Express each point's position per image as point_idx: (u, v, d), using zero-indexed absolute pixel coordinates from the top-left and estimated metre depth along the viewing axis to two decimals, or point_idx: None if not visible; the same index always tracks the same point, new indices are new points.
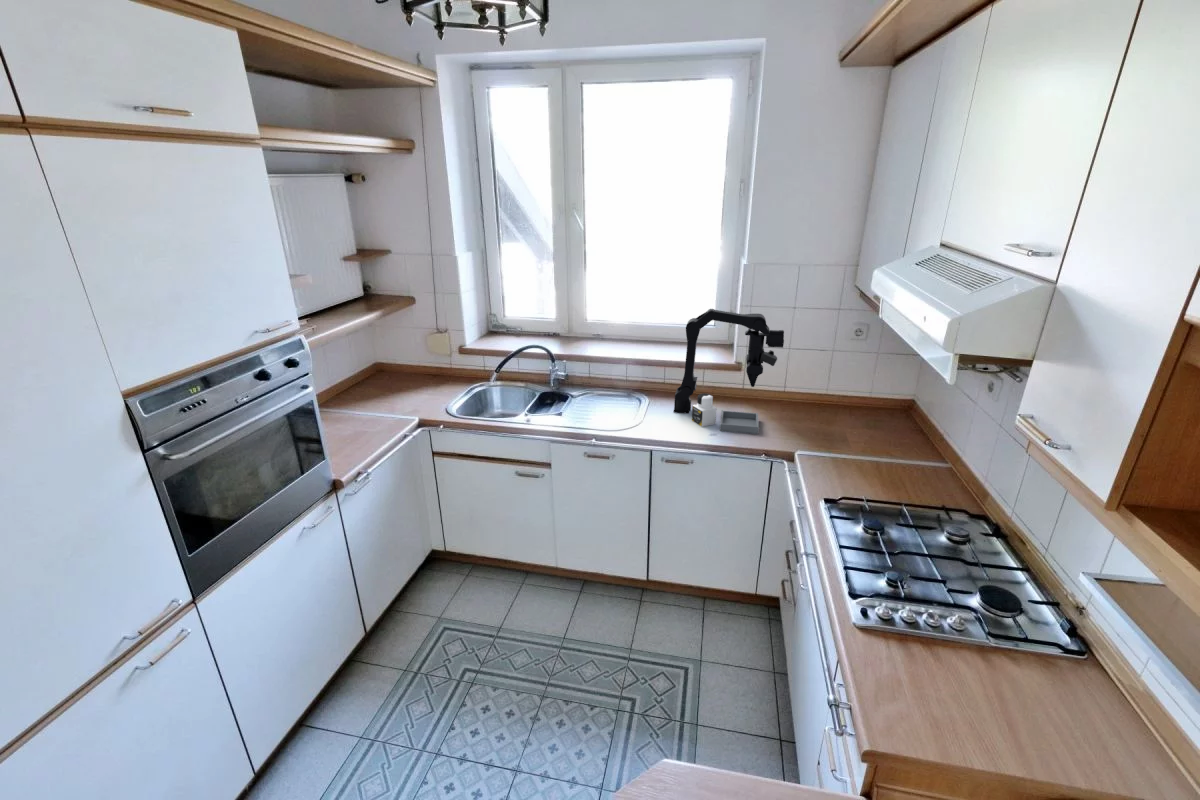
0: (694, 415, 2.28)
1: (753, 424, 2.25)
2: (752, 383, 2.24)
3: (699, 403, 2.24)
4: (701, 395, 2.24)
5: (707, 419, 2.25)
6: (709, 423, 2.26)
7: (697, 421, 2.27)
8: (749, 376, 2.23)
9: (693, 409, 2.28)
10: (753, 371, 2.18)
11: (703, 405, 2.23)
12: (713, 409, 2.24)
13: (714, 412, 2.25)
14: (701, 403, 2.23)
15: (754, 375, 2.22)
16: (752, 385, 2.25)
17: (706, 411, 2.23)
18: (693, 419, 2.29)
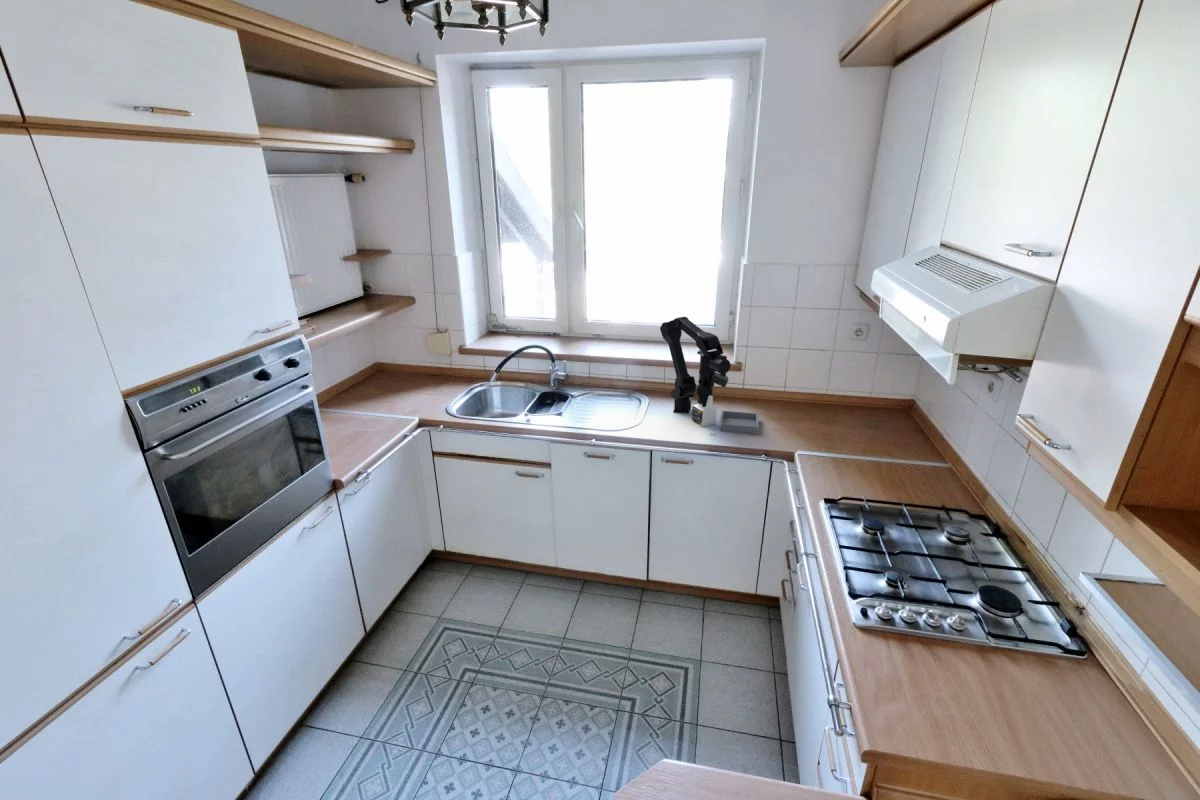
0: (694, 415, 2.28)
1: (753, 424, 2.25)
2: (704, 403, 2.22)
3: (699, 403, 2.24)
4: None
5: (707, 419, 2.25)
6: (709, 423, 2.26)
7: (697, 421, 2.27)
8: (700, 396, 2.20)
9: (693, 409, 2.28)
10: (703, 393, 2.15)
11: None
12: (713, 409, 2.24)
13: (714, 412, 2.25)
14: (701, 403, 2.23)
15: (705, 395, 2.20)
16: (703, 405, 2.23)
17: (706, 411, 2.23)
18: (693, 419, 2.29)
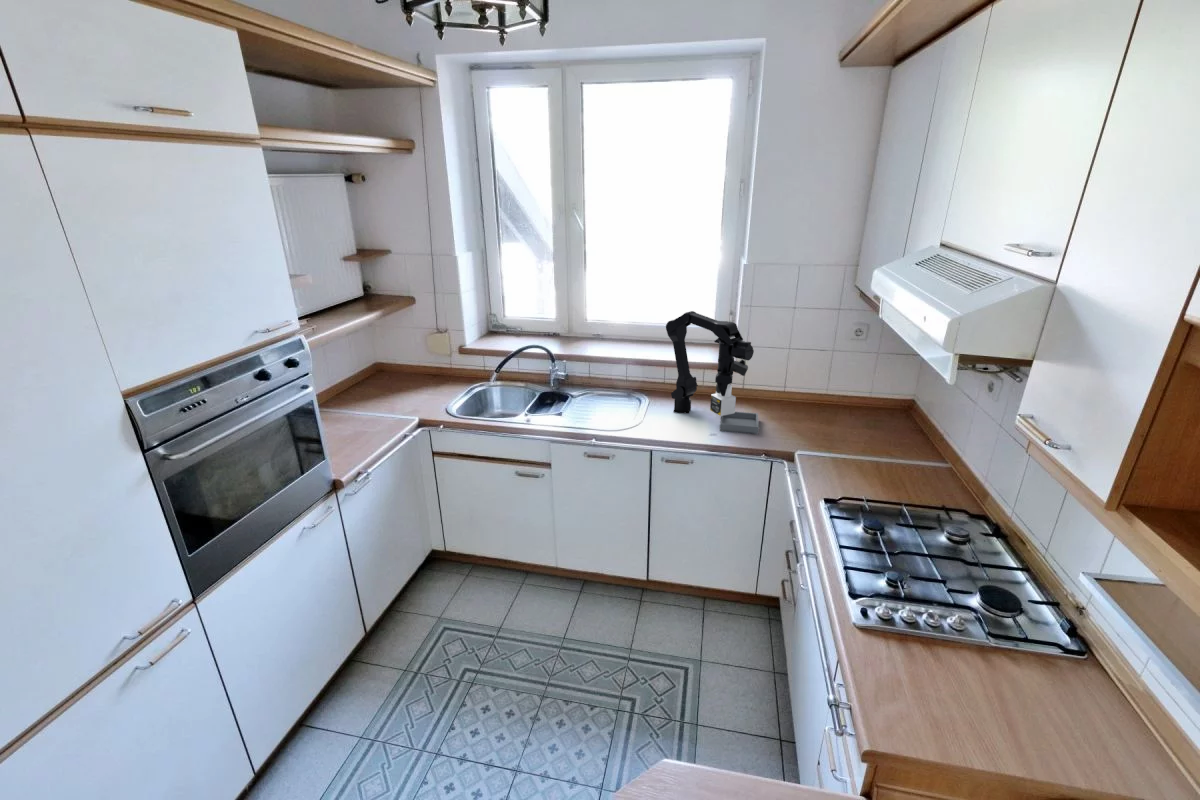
0: (713, 404, 2.24)
1: (753, 424, 2.25)
2: (723, 392, 2.18)
3: (718, 392, 2.21)
4: None
5: (726, 408, 2.21)
6: (728, 412, 2.22)
7: (715, 410, 2.23)
8: (719, 385, 2.17)
9: (712, 398, 2.24)
10: (722, 381, 2.11)
11: None
12: (732, 398, 2.21)
13: (733, 401, 2.21)
14: (720, 392, 2.20)
15: (724, 384, 2.17)
16: (722, 394, 2.19)
17: (725, 400, 2.19)
18: (712, 409, 2.25)
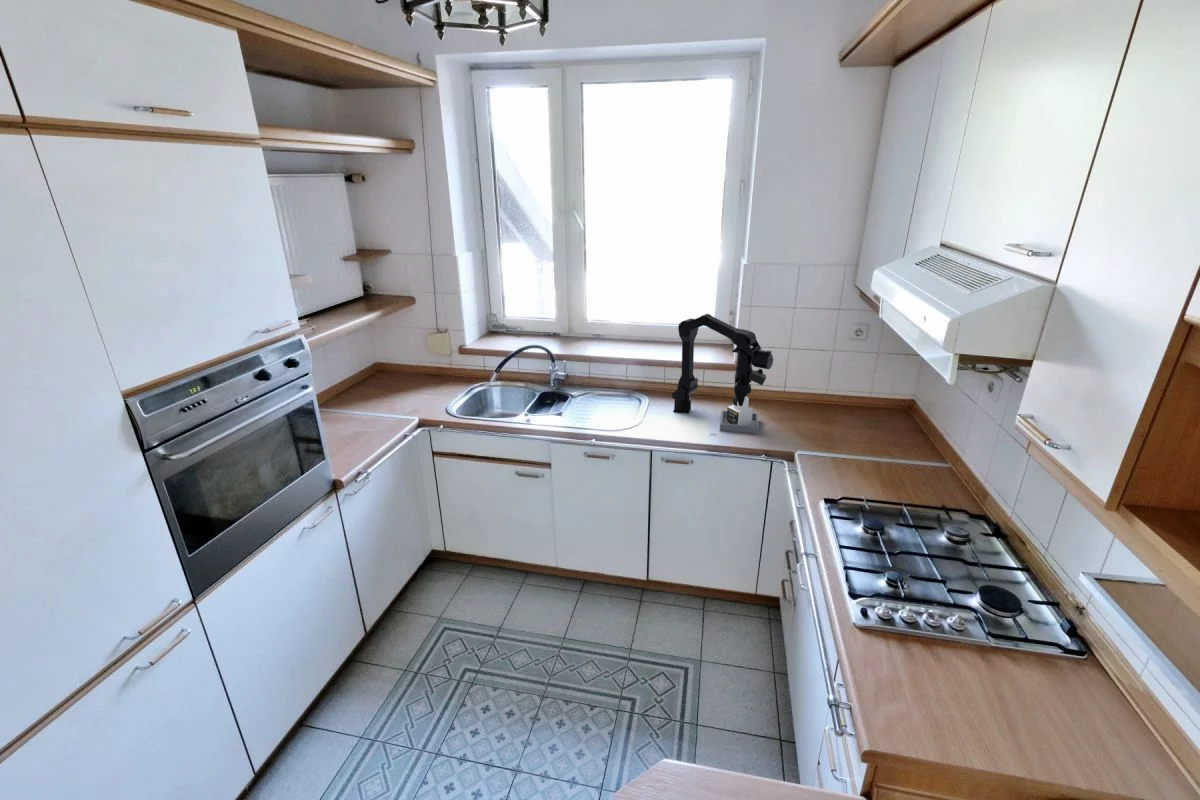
0: (729, 416, 2.24)
1: (753, 424, 2.25)
2: (741, 402, 2.17)
3: (735, 404, 2.21)
4: None
5: (743, 421, 2.21)
6: None
7: (732, 422, 2.23)
8: (737, 395, 2.16)
9: (728, 410, 2.24)
10: (741, 391, 2.11)
11: (739, 406, 2.20)
12: (749, 410, 2.21)
13: (750, 413, 2.22)
14: (737, 404, 2.20)
15: (742, 394, 2.15)
16: (740, 404, 2.18)
17: (742, 412, 2.20)
18: (728, 421, 2.25)
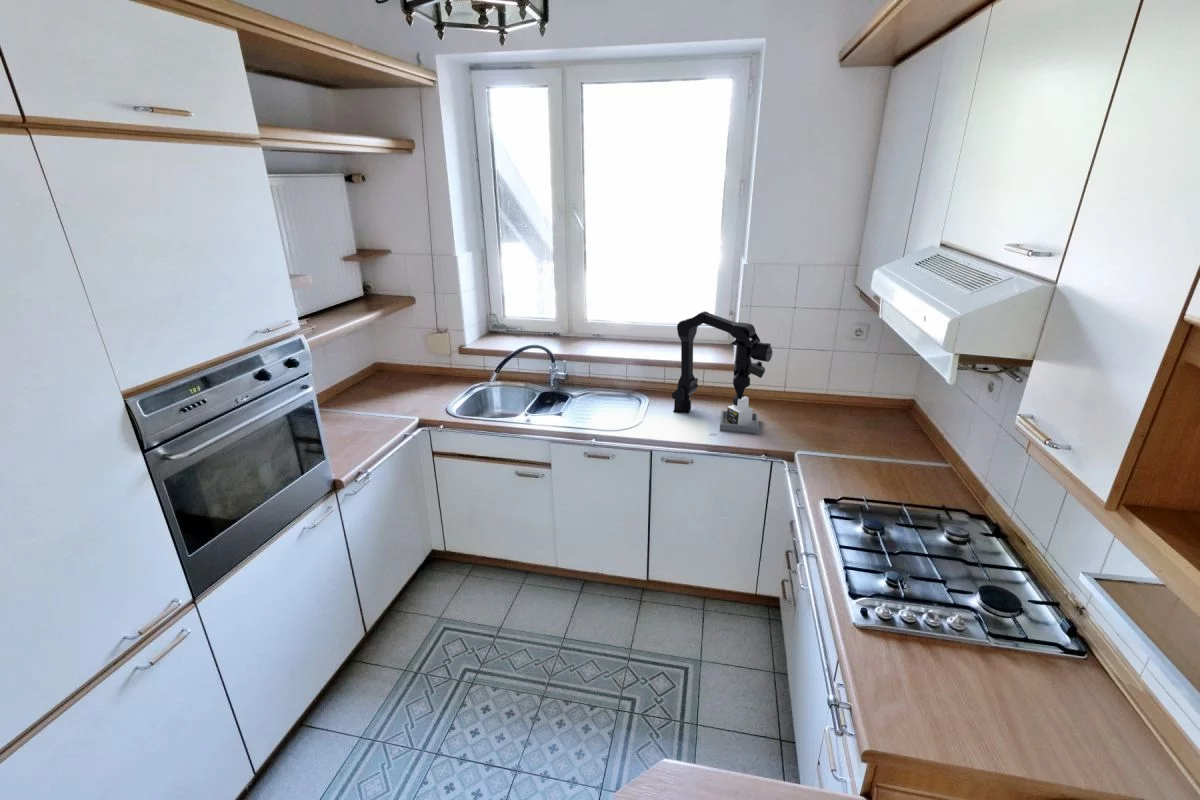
0: (729, 416, 2.24)
1: (753, 424, 2.25)
2: (740, 395, 2.16)
3: (735, 404, 2.21)
4: None
5: (743, 421, 2.21)
6: None
7: (732, 422, 2.23)
8: (736, 388, 2.14)
9: (728, 410, 2.24)
10: (740, 383, 2.10)
11: (739, 406, 2.20)
12: (749, 410, 2.21)
13: (750, 413, 2.22)
14: (737, 404, 2.20)
15: (741, 387, 2.14)
16: (739, 397, 2.17)
17: (742, 412, 2.20)
18: (728, 421, 2.26)
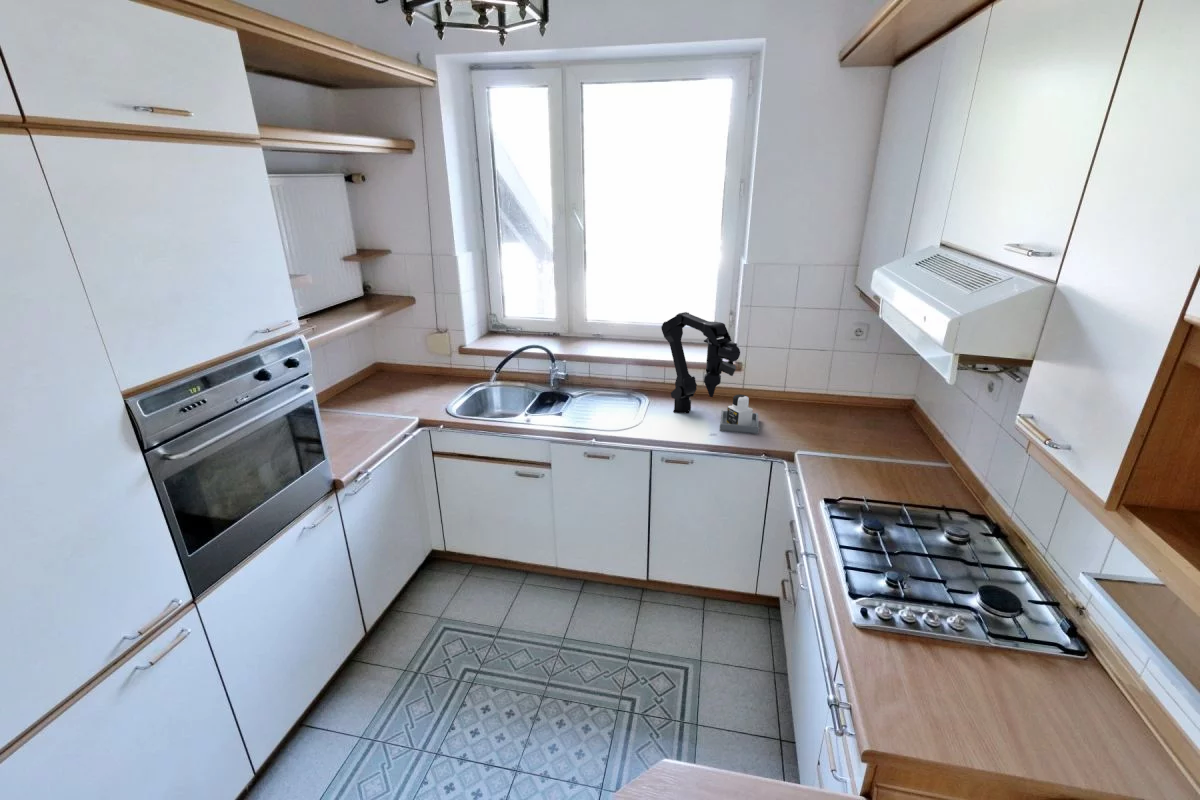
0: (729, 416, 2.24)
1: (753, 424, 2.25)
2: (711, 393, 2.19)
3: (735, 404, 2.21)
4: (737, 396, 2.21)
5: (743, 421, 2.21)
6: None
7: (732, 422, 2.23)
8: (707, 386, 2.17)
9: (728, 410, 2.24)
10: (710, 381, 2.13)
11: (739, 406, 2.20)
12: (749, 410, 2.21)
13: (750, 413, 2.22)
14: (737, 404, 2.20)
15: (712, 385, 2.17)
16: (711, 395, 2.19)
17: (742, 412, 2.20)
18: (728, 421, 2.26)
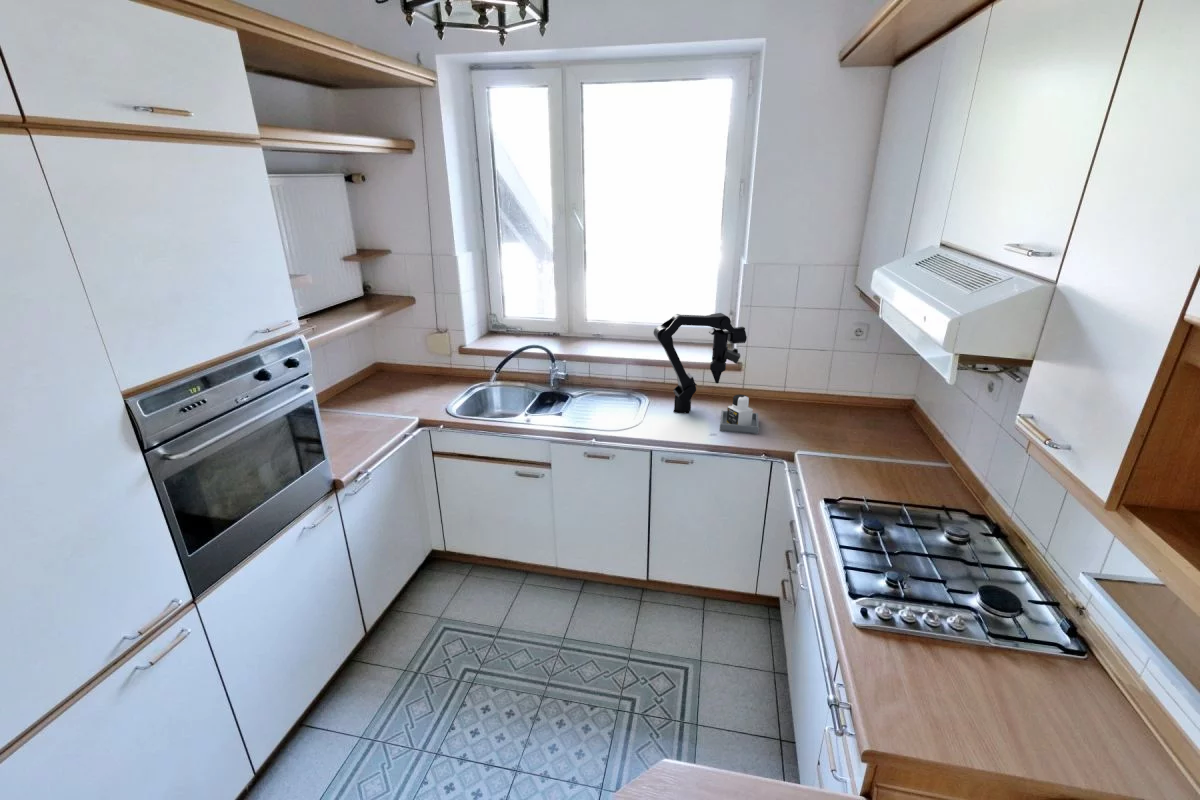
0: (729, 416, 2.24)
1: (753, 424, 2.25)
2: (717, 380, 2.33)
3: (735, 404, 2.21)
4: (737, 396, 2.21)
5: (743, 421, 2.21)
6: None
7: (732, 422, 2.23)
8: (713, 373, 2.32)
9: (728, 410, 2.24)
10: (716, 368, 2.28)
11: (739, 406, 2.20)
12: (749, 410, 2.21)
13: (750, 413, 2.22)
14: (737, 404, 2.20)
15: (718, 372, 2.32)
16: (716, 382, 2.34)
17: (742, 412, 2.20)
18: (728, 421, 2.26)
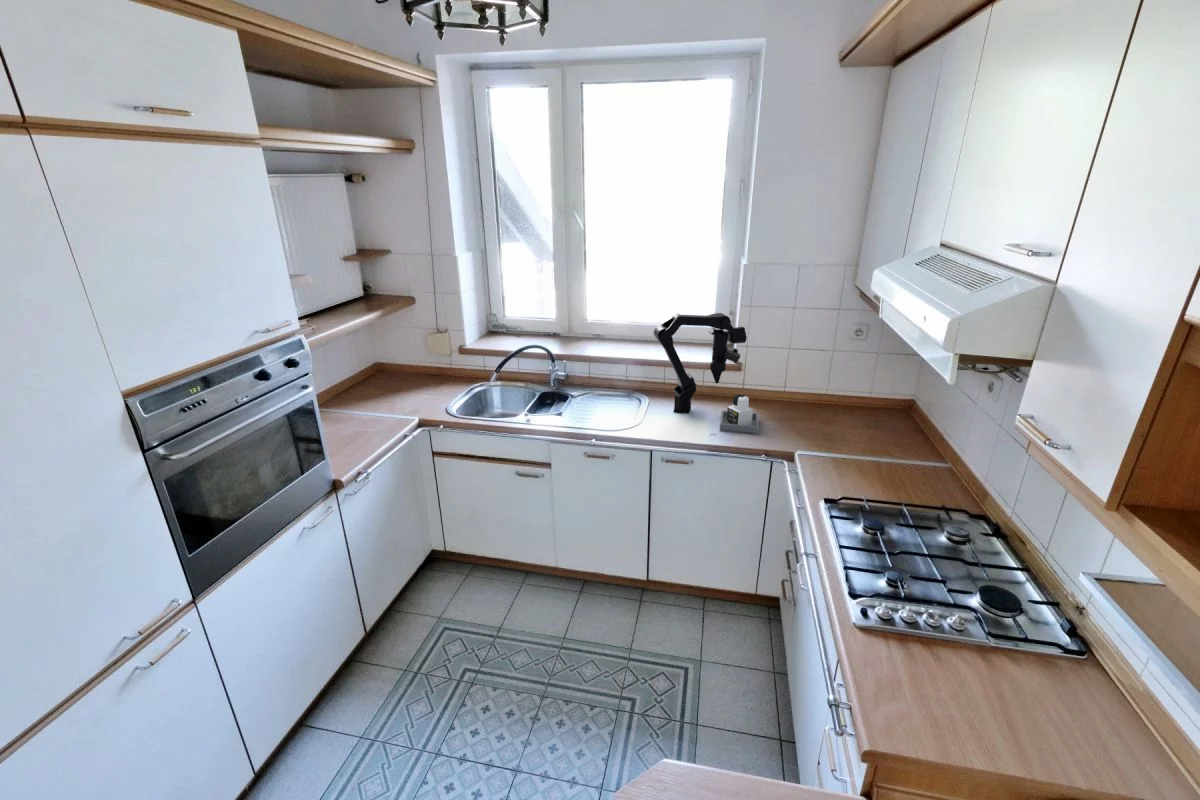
0: (729, 416, 2.24)
1: (753, 424, 2.25)
2: (717, 380, 2.34)
3: (735, 404, 2.21)
4: (737, 396, 2.21)
5: (743, 421, 2.21)
6: None
7: (732, 422, 2.23)
8: (713, 373, 2.32)
9: (728, 410, 2.24)
10: (716, 368, 2.28)
11: (739, 406, 2.20)
12: (749, 410, 2.21)
13: (750, 413, 2.22)
14: (737, 404, 2.20)
15: (718, 372, 2.32)
16: (716, 382, 2.34)
17: (742, 412, 2.20)
18: (728, 421, 2.25)
